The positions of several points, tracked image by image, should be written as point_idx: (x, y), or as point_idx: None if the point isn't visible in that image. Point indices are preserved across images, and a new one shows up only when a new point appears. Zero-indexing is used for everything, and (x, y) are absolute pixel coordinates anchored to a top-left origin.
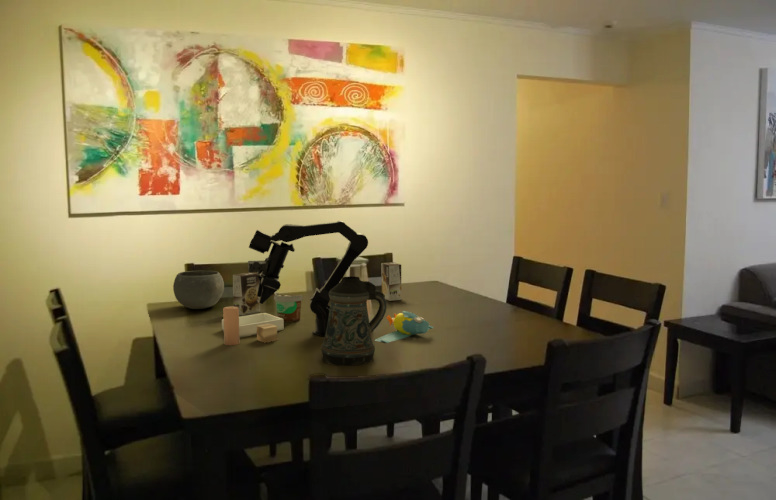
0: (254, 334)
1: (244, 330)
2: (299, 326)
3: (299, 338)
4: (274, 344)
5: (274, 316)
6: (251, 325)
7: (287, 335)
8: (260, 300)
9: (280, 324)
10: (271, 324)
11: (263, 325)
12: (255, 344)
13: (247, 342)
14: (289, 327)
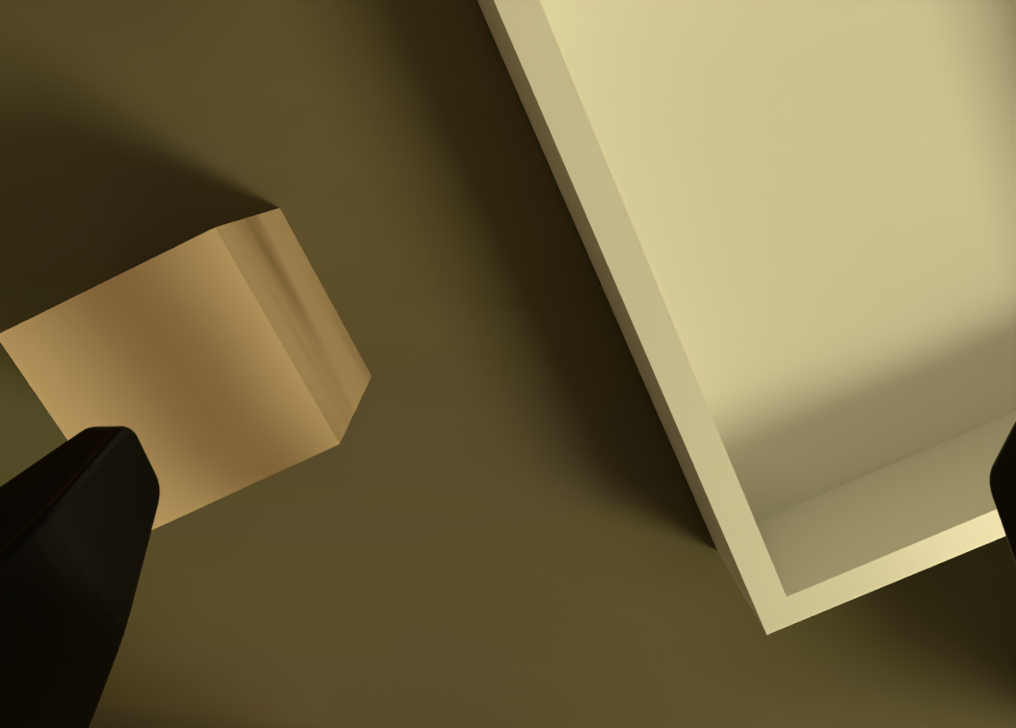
0: (559, 186)
1: (499, 28)
2: (816, 717)
3: (262, 678)
4: (20, 406)
5: (977, 527)
6: (554, 147)
7: (429, 571)
8: (5, 493)
9: (723, 554)
10: (274, 466)
11: (225, 341)
12: (43, 175)
13: (164, 70)
14: (810, 617)
